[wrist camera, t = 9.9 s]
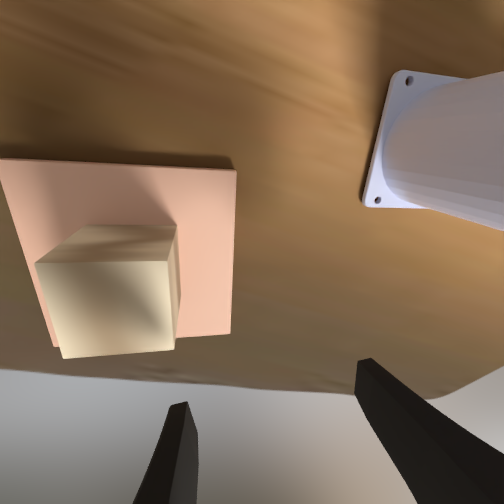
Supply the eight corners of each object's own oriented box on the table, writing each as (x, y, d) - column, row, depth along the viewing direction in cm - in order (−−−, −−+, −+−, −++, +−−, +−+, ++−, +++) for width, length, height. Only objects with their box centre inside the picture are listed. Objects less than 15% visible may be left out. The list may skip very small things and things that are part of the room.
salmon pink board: (234, 169, 16) (236, 171, 15) (228, 325, 20) (230, 333, 19) (8, 158, 13) (-7, 159, 12) (61, 336, 18) (54, 346, 17)
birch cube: (177, 225, 15) (167, 260, 11) (181, 295, 17) (173, 349, 13) (86, 224, 14) (33, 263, 10) (101, 298, 16) (63, 358, 12)
